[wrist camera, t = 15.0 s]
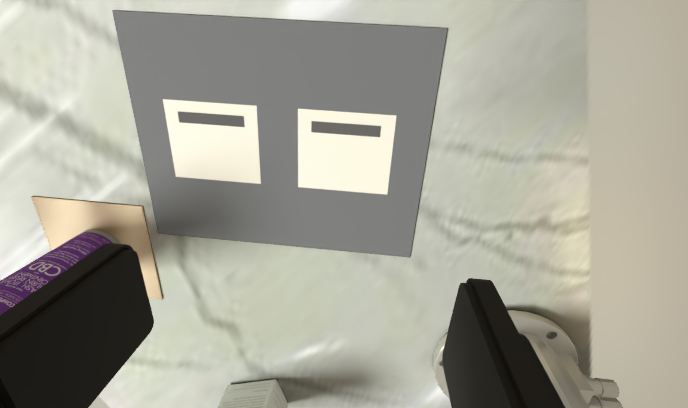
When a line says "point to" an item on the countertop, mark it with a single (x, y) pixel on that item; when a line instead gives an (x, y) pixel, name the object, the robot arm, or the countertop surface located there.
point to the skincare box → (254, 395)
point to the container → (49, 267)
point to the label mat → (283, 127)
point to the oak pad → (114, 219)
